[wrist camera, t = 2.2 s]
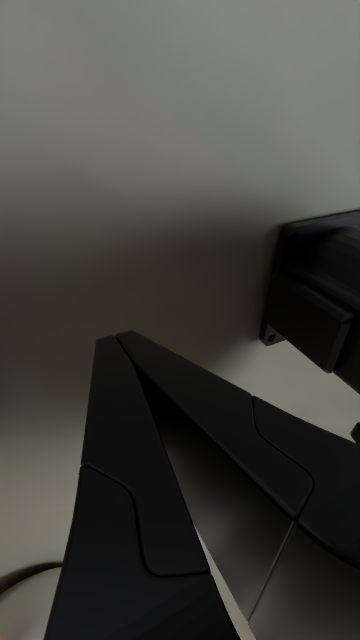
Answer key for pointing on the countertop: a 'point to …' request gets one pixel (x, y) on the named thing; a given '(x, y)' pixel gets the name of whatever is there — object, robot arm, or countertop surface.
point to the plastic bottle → (28, 606)
